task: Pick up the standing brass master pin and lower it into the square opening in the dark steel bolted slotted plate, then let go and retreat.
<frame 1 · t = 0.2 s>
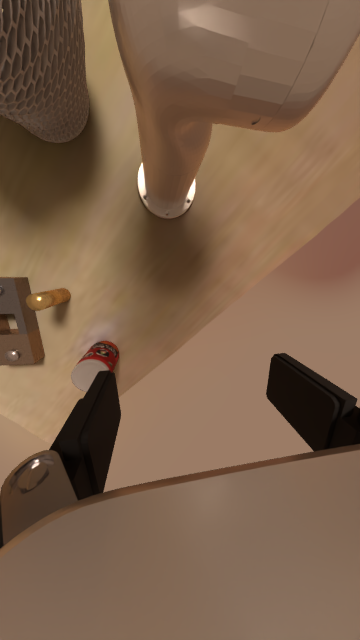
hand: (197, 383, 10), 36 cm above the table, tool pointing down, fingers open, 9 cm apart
master pin: (63, 294, 41), on the table
canned food: (105, 352, 47), on the table
bolted slotted plate: (18, 319, 41), on the table
vase: (47, 94, 31), on the table
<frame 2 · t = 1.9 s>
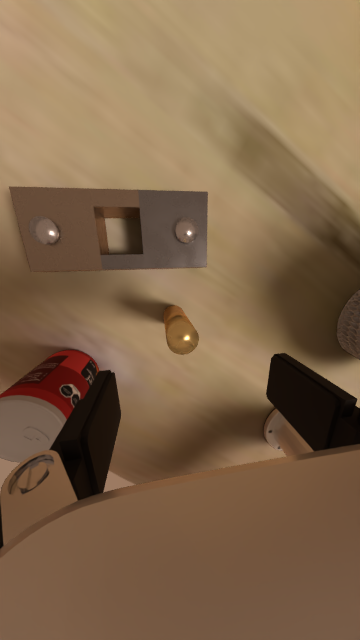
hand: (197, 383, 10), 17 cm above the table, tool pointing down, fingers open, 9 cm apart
master pin: (173, 315, 26), on the table
canned food: (75, 369, 27), on the table
bolted slotted plate: (125, 238, 23), on the table
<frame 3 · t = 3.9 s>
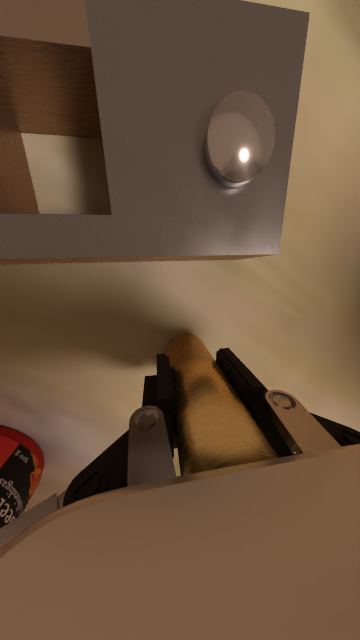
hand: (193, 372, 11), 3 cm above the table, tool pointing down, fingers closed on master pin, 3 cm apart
master pin: (185, 353, 14), on the table, touching gripper
bolted slotted plate: (79, 188, 10), on the table
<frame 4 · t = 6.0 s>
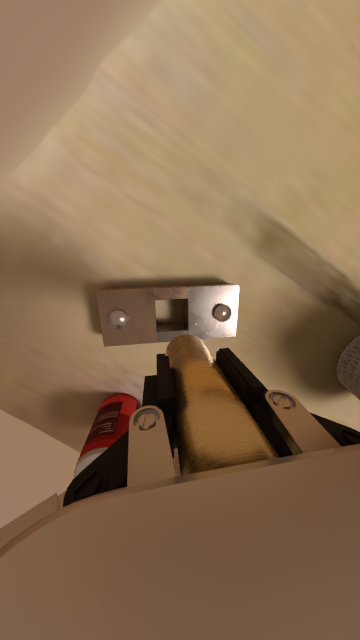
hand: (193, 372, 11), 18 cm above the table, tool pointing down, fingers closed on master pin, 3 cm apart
master pin: (186, 352, 14), point 16 cm above the table, touching gripper
canned food: (122, 408, 33), on the table
bolted slotted plate: (169, 309, 28), on the table
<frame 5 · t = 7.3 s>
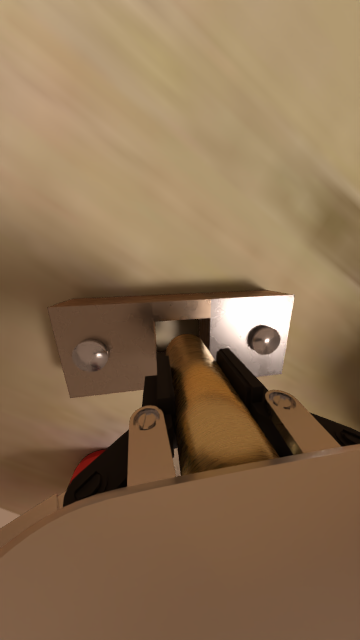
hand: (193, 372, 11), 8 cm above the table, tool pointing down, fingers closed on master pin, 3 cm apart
master pin: (185, 352, 14), point 5 cm above the table, touching gripper
bolted slotted plate: (177, 330, 19), on the table
when the fingers open (5 cm above the table, at t = 8.2 s): master pin drops 2 cm, resting in bolted slotted plate.
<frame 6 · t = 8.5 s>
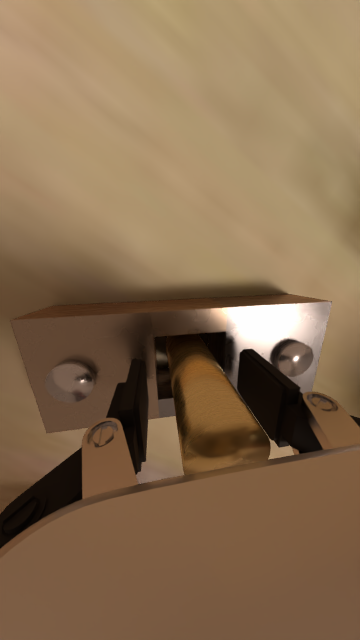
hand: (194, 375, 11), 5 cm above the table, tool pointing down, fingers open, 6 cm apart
master pin: (183, 343, 15), resting in bolted slotted plate
bolted slotted plate: (182, 343, 15), on the table
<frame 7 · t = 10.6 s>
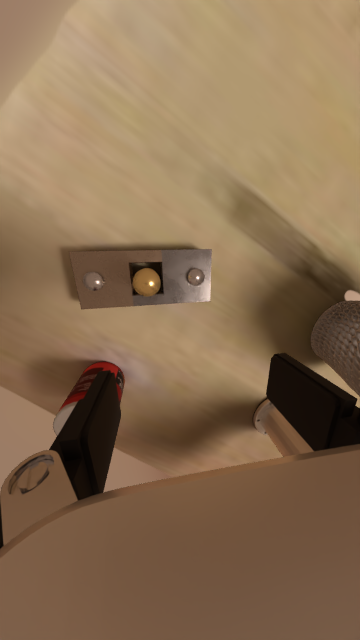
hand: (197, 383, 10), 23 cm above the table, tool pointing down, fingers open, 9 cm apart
master pin: (148, 277, 29), resting in bolted slotted plate
canned food: (105, 377, 34), on the table
bolted slotted plate: (147, 277, 29), on the table
vase: (337, 330, 40), on the table
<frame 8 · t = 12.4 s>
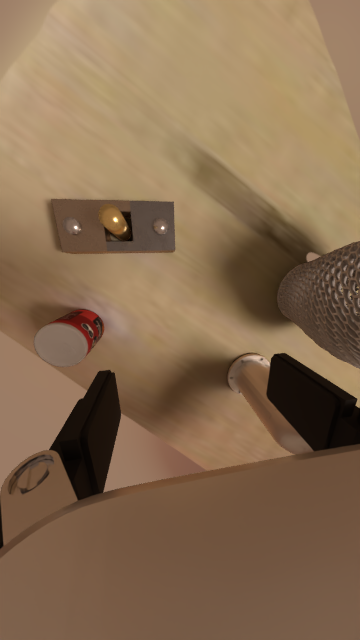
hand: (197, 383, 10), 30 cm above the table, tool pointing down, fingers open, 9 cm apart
master pin: (122, 231, 34), resting in bolted slotted plate
canned food: (86, 325, 38), on the table
bolted slotted plate: (122, 231, 34), on the table
vase: (303, 292, 43), on the table
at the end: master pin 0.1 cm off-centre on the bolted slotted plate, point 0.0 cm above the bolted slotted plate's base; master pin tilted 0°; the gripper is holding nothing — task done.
